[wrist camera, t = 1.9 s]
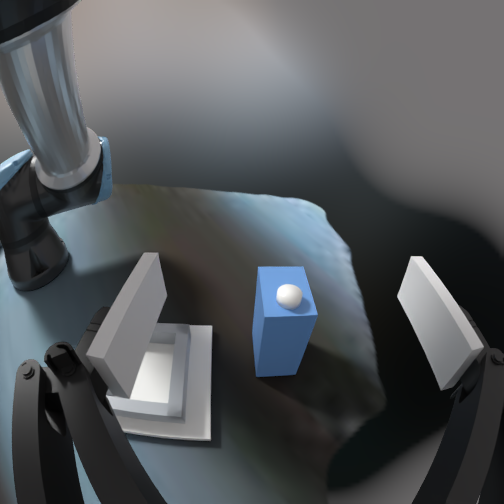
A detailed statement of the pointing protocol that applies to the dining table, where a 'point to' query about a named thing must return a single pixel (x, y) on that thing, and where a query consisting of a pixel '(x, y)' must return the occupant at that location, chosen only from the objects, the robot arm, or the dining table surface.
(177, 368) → the white square socket base
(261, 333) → the blue drink carton
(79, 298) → the dining table surface
